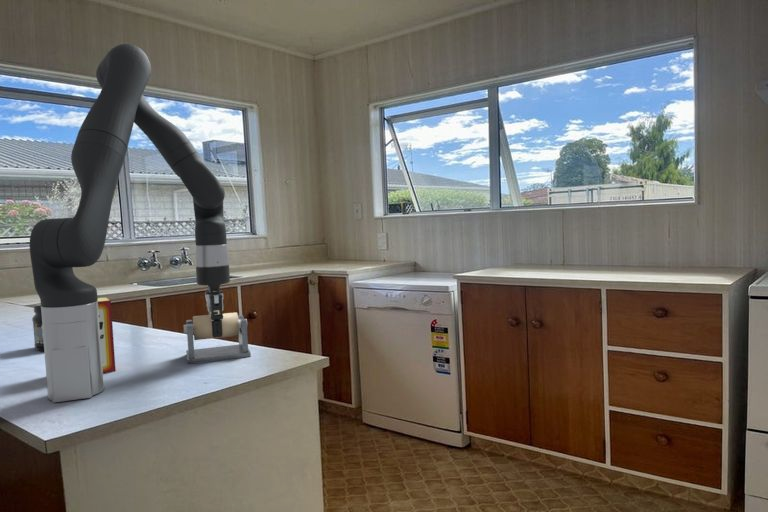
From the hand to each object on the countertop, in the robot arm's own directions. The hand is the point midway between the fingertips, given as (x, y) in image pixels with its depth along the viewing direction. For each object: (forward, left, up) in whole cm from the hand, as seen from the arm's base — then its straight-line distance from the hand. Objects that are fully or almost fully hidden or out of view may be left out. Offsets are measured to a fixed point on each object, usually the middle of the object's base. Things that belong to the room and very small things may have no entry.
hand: (216, 334), depth 128 cm
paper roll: (0, 0, -1) cm, 1 cm away
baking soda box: (-1, +27, -5) cm, 27 cm away
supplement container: (+32, +39, -5) cm, 51 cm away
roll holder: (0, 0, -5) cm, 5 cm away
